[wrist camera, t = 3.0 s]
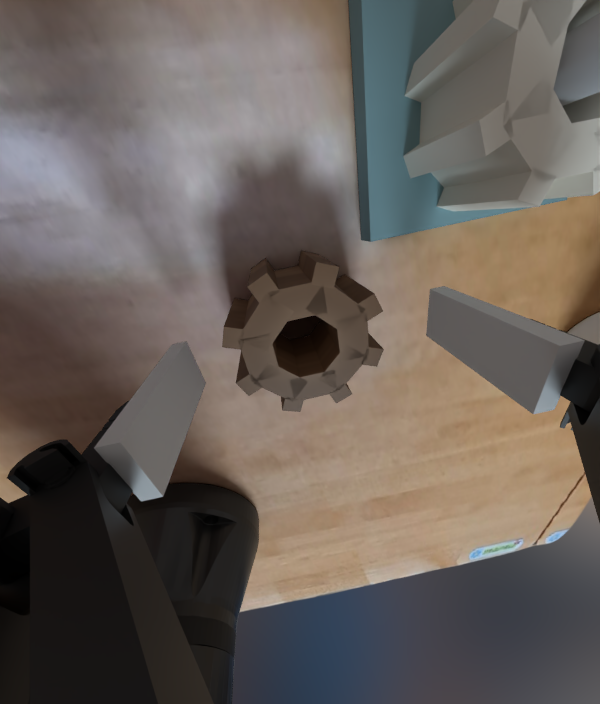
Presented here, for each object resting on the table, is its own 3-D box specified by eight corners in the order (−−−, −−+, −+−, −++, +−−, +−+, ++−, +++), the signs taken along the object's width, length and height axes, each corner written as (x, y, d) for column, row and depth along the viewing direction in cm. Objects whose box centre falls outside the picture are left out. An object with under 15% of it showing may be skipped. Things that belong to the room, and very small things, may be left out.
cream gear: (402, 222, 14) (465, 222, 10) (406, -6, 10) (519, -186, 6) (540, 192, 14) (664, 180, 10) (598, -41, 10) (852, -240, 6)
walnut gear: (253, 377, 19) (251, 423, 15) (217, 268, 15) (199, 287, 11) (356, 353, 19) (384, 392, 15) (347, 240, 15) (381, 247, 11)
